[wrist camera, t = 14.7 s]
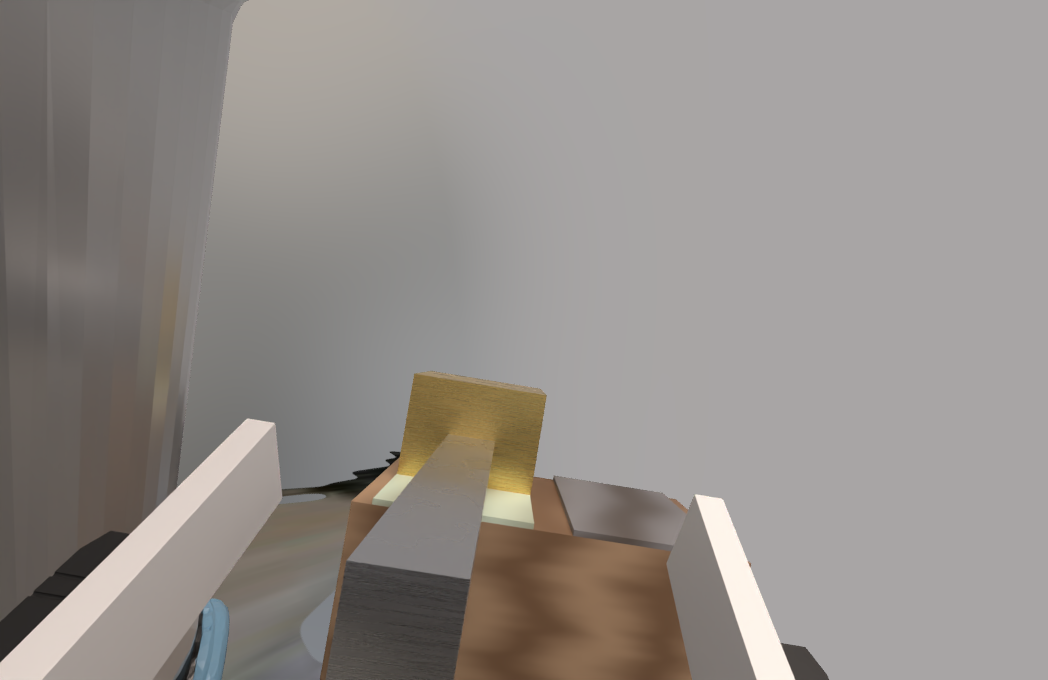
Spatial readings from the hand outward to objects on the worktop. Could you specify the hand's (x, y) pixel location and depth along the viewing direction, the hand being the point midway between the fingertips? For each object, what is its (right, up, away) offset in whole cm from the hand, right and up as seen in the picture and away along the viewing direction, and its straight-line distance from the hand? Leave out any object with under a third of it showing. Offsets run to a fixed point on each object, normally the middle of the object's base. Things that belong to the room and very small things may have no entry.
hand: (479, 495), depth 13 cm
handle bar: (-2, -4, +9) cm, 10 cm away
